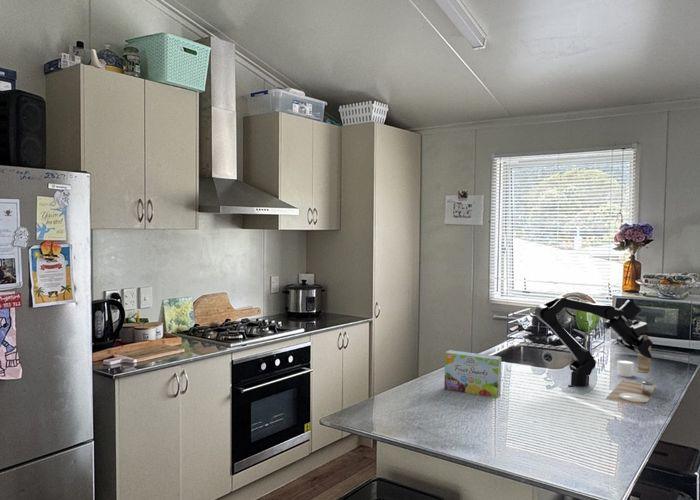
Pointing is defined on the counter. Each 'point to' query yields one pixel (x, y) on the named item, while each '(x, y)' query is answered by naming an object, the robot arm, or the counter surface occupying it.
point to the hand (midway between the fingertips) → (647, 356)
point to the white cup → (625, 368)
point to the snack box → (472, 373)
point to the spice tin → (647, 387)
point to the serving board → (627, 388)
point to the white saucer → (633, 397)
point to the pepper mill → (644, 361)
